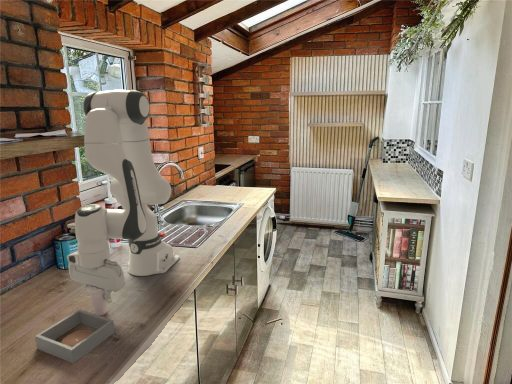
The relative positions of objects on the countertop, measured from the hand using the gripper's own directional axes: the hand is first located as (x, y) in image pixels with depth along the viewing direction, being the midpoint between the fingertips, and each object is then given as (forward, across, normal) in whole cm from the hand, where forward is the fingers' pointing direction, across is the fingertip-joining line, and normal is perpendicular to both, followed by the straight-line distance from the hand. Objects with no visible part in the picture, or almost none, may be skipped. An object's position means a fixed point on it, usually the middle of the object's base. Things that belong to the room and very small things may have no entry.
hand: (99, 297), depth 111 cm
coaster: (+5, -5, +13) cm, 15 cm away
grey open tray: (+5, -5, +13) cm, 15 cm away
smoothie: (+6, 0, 0) cm, 6 cm away
